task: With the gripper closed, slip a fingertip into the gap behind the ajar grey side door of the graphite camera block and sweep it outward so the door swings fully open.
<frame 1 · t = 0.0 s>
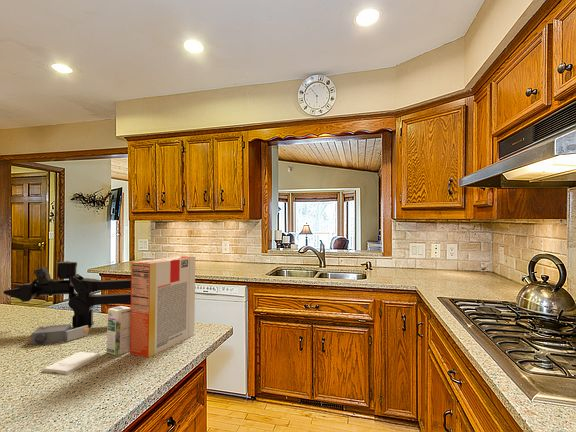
hand: (9, 289, 128), 17 cm above the countertop, tool horizontal, fingers open, 9 cm apart
side door: (76, 333, 121), point 2 cm above the countertop, hinge at 45.0°
camera block: (51, 339, 120), on the countertop
external hard drive: (72, 366, 100), on the countertop
syrup box: (119, 352, 110), on the countertop
cereal box: (164, 344, 117), on the countertop
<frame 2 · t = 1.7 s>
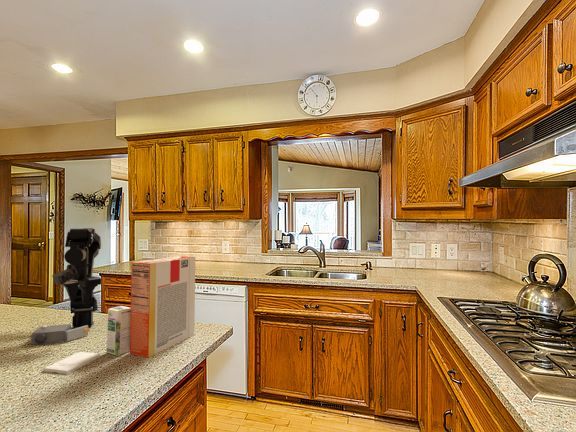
hand: (78, 302, 124), 13 cm above the countertop, tool pointing down, fingers open, 7 cm apart
nothing on the countertop moved.
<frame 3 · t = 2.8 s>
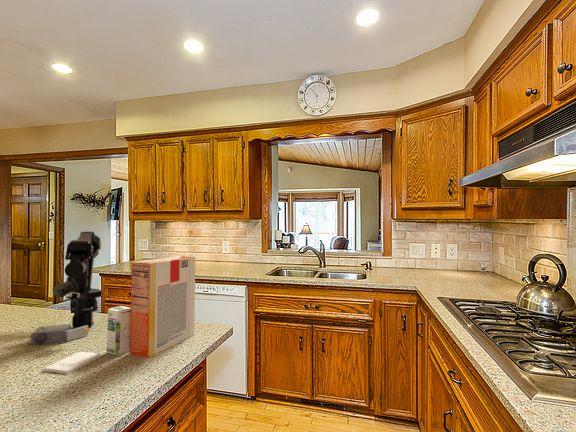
hand: (78, 314, 125), 8 cm above the countertop, tool pointing down, fingers closed
nothing on the countertop moved.
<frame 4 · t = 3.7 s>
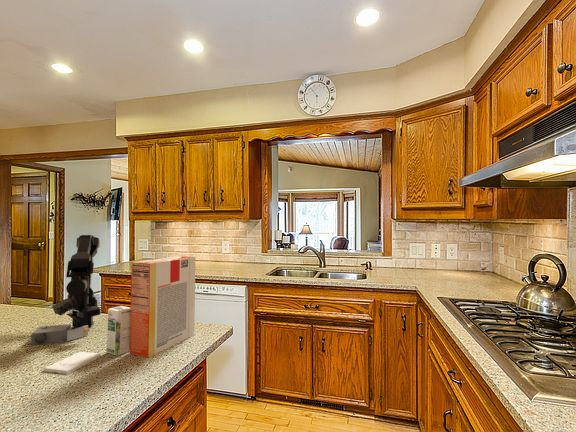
hand: (78, 332, 124), 2 cm above the countertop, tool pointing down, fingers closed
side door: (76, 333, 121), point 2 cm above the countertop, hinge at 45.0°, touching gripper
everything else where it was.
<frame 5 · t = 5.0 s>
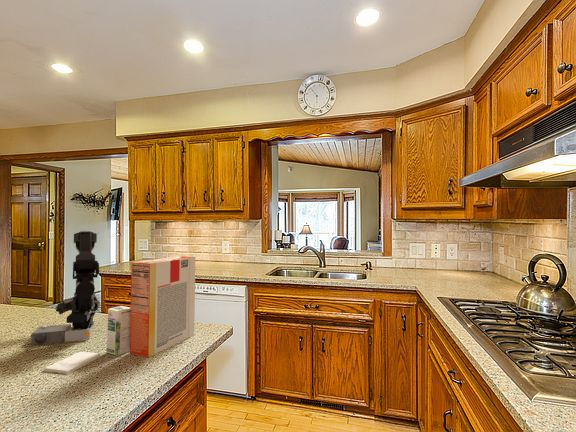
hand: (84, 333, 121), 2 cm above the countertop, tool pointing down, fingers closed
side door: (76, 335, 119), point 2 cm above the countertop, hinge at 84.4°, touching gripper
everything else where it was.
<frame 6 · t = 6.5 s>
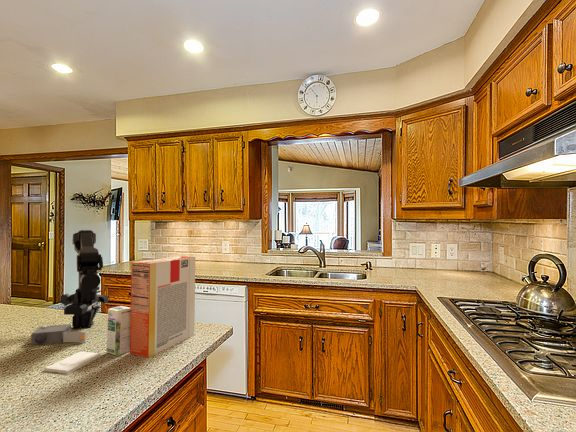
hand: (87, 327, 122), 4 cm above the countertop, tool pointing down, fingers closed
side door: (73, 337, 117), point 2 cm above the countertop, hinge at 107.7°
everything else where it was.
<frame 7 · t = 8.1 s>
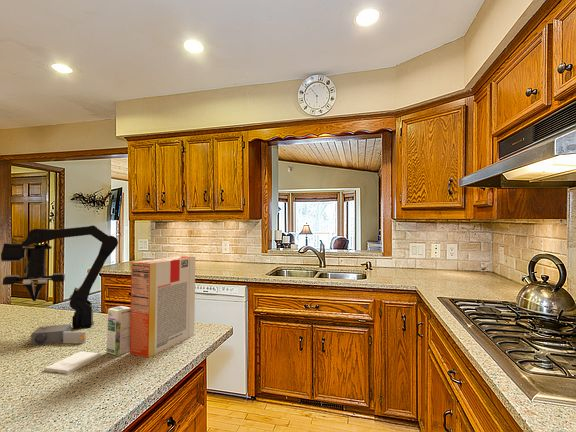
hand: (34, 300, 127), 12 cm above the countertop, tool pointing down, fingers closed
nothing on the countertop moved.
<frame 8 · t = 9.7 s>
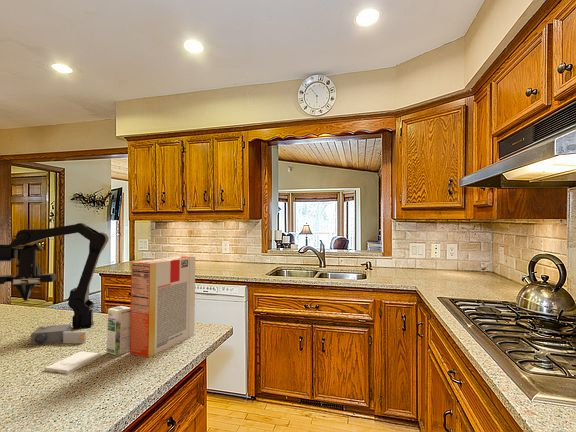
hand: (25, 300, 129), 12 cm above the countertop, tool pointing down, fingers closed
nothing on the countertop moved.
at the end: side door at +108° (first picture: +45°); side door touching nothing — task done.
